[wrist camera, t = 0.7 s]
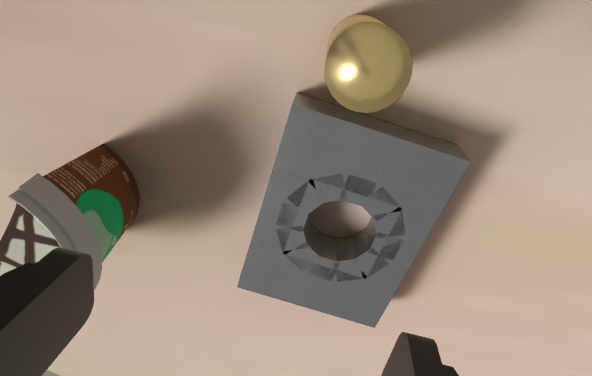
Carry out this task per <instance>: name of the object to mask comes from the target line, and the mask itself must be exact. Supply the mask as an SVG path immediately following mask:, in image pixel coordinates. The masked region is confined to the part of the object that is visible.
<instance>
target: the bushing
mask: <svg viewBox="0 0 592 376" xmlns="http://www.w3.org/2000/svg"><path fill="white" fill-rule="evenodd" d="M411 74H412V56H411V52H410V49H409V47H408V45H407V43H406V42H405V40H404V39H403V38H402V36H401V35H400V34H398V33H397V32H396V31H395V30H393V29H392V28H390V27H388V26H387V25H385V24H384V23H382V22H381V21H379V20H377V19H376V18H374V17H372V16H369V15H364V14H358V15H353V16H350V17H348V18H346V19H344V20H343V21H341V22H340V23H339V24H338V25H337V26H336V27H335V29H334V30H333V32H332V34H331V36H330V39H329V43H328V49H327V56H326V63H325V80H326V83H327V86H328V89H329V91H330V93H331V95H332V96H333V97H334V99H335V100H336V101H337V102H338V103H340V104H341V105H342V106H344V107H345V108H347V109H350V110H352V111H356V112H361V113H370V112H376V111H379V110H382V109H384V108H386V107H388V106H390V105H391V104H393V103H394V102H395V101H396V100H397V99H399V97H400V96H401V95H402V94H403V92H404V91H405V90H406V88H407V86H408V84H409V81H410V78H411Z"/></svg>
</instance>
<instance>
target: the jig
mask: <svg viewBox="0 0 592 376" xmlns="http://www.w3.org/2000/svg"><path fill="white" fill-rule="evenodd" d="M470 162H471V161H470V160H469V159H468V158H467V156H466V155H465V154H464V153H463V151H462V150H461V149H460V148H459V146H458V145H456V144H453V143H450V142H446V141H443V140H440V139H437V138H434V137H431V136H428V135H425V134H422V133H419V132H416V131H413V130H410V129H407V128H404V127H401V126H398V125H395V124H392V123H389V122H385V121H382V120H379V119H376V118H373V117H370V116H367V115H364V114H361V113H358V112H355V111H352V110H349V109H346V108H343V107H340V106H337V105H334V104H331V103H327V102H324V101H321V100H318V99H315V98H312V97H309V96H306V95H303V94H300V93H297V94H296V96H295V99H294V101H293V104H292V107H291V111H290V114H289V117H288V121H287V124H286V127H285V131H284V134H283V137H282V140H281V144H280V147H279V150H278V154H277V157H276V160H275V164H274V167H273V170H272V174H271V177H270V180H269V183H268V187H267V190H266V193H265V197H264V200H263V203H262V207H261V210H260V213H259V217H258V220H257V223H256V226H255V230H254V233H253V236H252V240H251V243H250V246H249V250H248V253H247V256H246V260H245V263H244V266H243V269H242V273H241V276H240V279H239V283H238V286H237V287H239V288H242V289H246V290H249V291H252V292H256V293H259V294H262V295H266V296H269V297H273V298H276V299H279V300H283V301H286V302H289V303H293V304H296V305H300V306H303V307H306V308H310V309H313V310H316V311H320V312H323V313H327V314H330V315H333V316H337V317H340V318H344V319H347V320H350V321H354V322H357V323H360V324H364V325H367V326H371V327H374V328H375V326H376V325H377V323H378V321H379V319H380V318H381V316H382V314H383V313H384V311H385V309H386V307H387V306H388V304H389V302H390V300H391V299H392V297H393V295H394V294H395V292H396V290H397V288H398V287H399V285H400V283H401V281H402V280H403V278H404V276H405V275H406V273H407V271H408V269H409V268H410V266H411V264H412V262H413V261H414V259H415V257H416V256H417V254H418V252H419V250H420V249H421V247H422V245H423V243H424V242H425V240H426V238H427V237H428V235H429V233H430V231H431V230H432V228H433V226H434V224H435V223H436V221H437V219H438V218H439V216H440V214H441V212H442V211H443V209H444V207H445V205H446V204H447V202H448V200H449V199H450V197H451V195H452V193H453V192H454V190H455V188H456V186H457V185H458V183H459V181H460V180H461V178H462V176H463V174H464V173H465V171H466V169H467V167H468V166H469V164H470ZM340 200H345V201H348V202H351V203H354V204H357V205H360V206H362V207H363V208H364V209H365V210H366V211H367V212H368V213H369V214H370V215H371V216H372V217H371V219H370V221H369V224H368V226H367V228H365V229H364V230H362V231H361V232H359V233H358V234H356V235H355V236H353V237H346V238H339V239H336V238H332V237H329V236H326V235H323V234H320V233H319V232H318V231H317V230H316V229H315V228H314V227H313V226H312V225H311V224H310V223H309V219H308V215H309V213H311V212H312V211H313V210H315V209H316V208H317V207H319V206H320V205H321V204H323V203H327V202H333V201H340Z"/></svg>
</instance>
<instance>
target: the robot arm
mask: <svg viewBox="0 0 592 376" xmlns="http://www.w3.org/2000/svg"><path fill="white" fill-rule="evenodd" d="M93 304H94V287H93V264H92V258H91V256H90V255H89V254H85V253H81V252H77V251H73V250H68V249H64V248H55V249H53V250H52V251H50V252H49V253H48V254H47V255H46V256H44V257H43V258H42V259H41V260H39V261H38V262H37V263H36V264H33V263H29V262H28V263H26V264H24V265H22V266H19V267H17V268H15V269H13V270H10V271H8V272H6V273H4V274H2V275H1V276H0V376H42V375H43V373H44V372H45V371H46V370H47V369H48V367H49V366H50V365H51V364H52V363H53V361H54V360H55V359H56V358H57V357H58V355H59V354H60V353H61V352H62V351H63V349H64V348H65V347H66V346H67V344H68V343H69V342H70V341H71V340H72V338H73V337H74V336H75V335H76V334H77V332H78V331H79V330H80V329H81V328H82V326H83V325H84V324H85V322H86V321H87V319H88V317H89V315H90V313H91V311H92V308H93ZM382 376H459V375H458V374H457V372H456V371H455V369H454V368H453V367H450V366H446V365H442V362H441V359H440V355H439V352H438V348H437V345H436V343H435V341H434V340H433V339H430V338H426V337H421V336H417V335H413V334H409V333H405V332H402V333H401V334H400V335H399V337H398V339H397V342H396V344H395V346H394V348H393V350H392V353H391V355H390V357H389V359H388V361H387V364H386V366H385V368H384V370H383V373H382Z"/></svg>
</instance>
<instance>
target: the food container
mask: <svg viewBox="0 0 592 376" xmlns="http://www.w3.org/2000/svg"><path fill="white" fill-rule="evenodd" d="M8 198H10V199H12V200H13V201H15V202H16V203H17V205H16V208H15V211H14V213H13V216H12V218H11V220H10V222H9V225H8V227H7V229H6V231H5V233H4V235H3V237H2V239H1V240H0V276H1V275H2V274H4V273H6V272H8V271H10V270H13V269H15V268H17V267H19V266H22V265H24V264H26V263H28V262H29V263H33V264H36V263H37V262H38V261H39V260H41V259H42V258H43V257H44V256H46V255H47V254H48V253H49V252H50V251H52V250H53V249H55V248H64V249H68V250H73V251H77V252H81V253H85V254H89V255H90V256H91V258H92V264H93V287H94V289H95V288H96V286H97V284H98V282H99V280H100V275H101V270H102V262H103V261H104V259H105V258H106V257H107V255H108V254H109V252H110V251H111V250H112V248H113V247H114V246H115V244H116V243H117V241H118V240H119V239H120V237H121V236H122V234H123V233H124V232H125V230H126V229H127V228H128V226H129V225H130V223H131V222H132V221H133V219H134V218H135V216H136V214H137V212H138V208H139V200H140V197H139V190H138V187H137V183H136V181H135V179H134V177H133V174H132V173H131V171H130V170H129V168H128V167H127V165H126V164H125V163H124V162H123V160H122V159H121V158H120V157H119V156H118V155H117V154H116V153H115V152H113V151H112V150H111V149H110V148H108V147H107V146H105V145H104V144H102V145H100V146H98V147H96V148H94V149H92V150H91V151H89V152H87V153H85V154H83V155H81V156H80V157H78V158H76V159H74V160H72V161H70V162H69V163H67V164H65V165H63V166H61V167H59V168H58V169H56V170H54V171H52V172H50V173H49V174H47V175H45V176H41V175H40V174H36V175H35V176H33V177H32V178H31V179H29V180H28V181H27V182H25V183H24V184H23V185H21V186H20V187H19V188H18V190H17V191H16V192H14V193H13V194H11V195H10V196H8Z"/></svg>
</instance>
